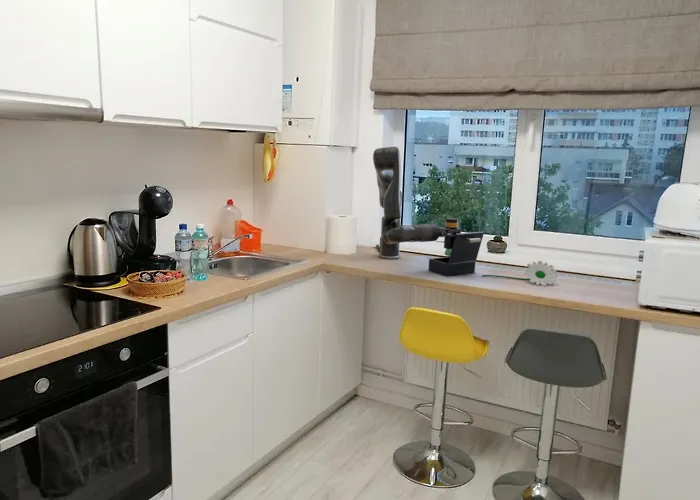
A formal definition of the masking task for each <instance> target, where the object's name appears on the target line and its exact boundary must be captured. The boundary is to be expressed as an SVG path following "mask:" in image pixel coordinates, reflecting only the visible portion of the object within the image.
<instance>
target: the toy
mask: <svg viewBox="0 0 700 500" xmlns="http://www.w3.org/2000/svg"><path fill="white" fill-rule="evenodd" d="M435 243H443V244H444V240H443V241H442V240H436V241H435ZM451 250H452V249H445V251H444V255H445V256H446V257H450V254H451Z"/></svg>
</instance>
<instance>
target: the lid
mask: <svg viewBox="0 0 700 500" xmlns="http://www.w3.org/2000/svg"><path fill="white" fill-rule="evenodd" d="M484 235H485V232H484V231H473V232H461V233H460V234H456V235H455V239H454V243H453V247H452V250H451V254H450V258H449V262H448V263H449V264H450V263H459V262H468V261H475V262H476V261H477V259H478V256H479V252H480V248H481V246H482V245H481V244H482V241H483V238H484Z"/></svg>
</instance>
